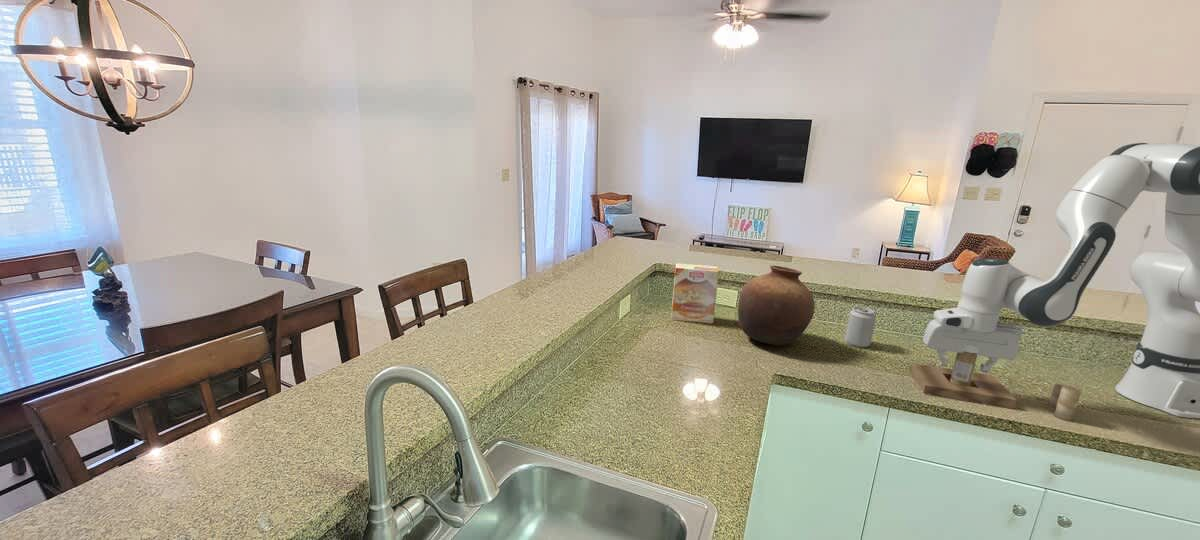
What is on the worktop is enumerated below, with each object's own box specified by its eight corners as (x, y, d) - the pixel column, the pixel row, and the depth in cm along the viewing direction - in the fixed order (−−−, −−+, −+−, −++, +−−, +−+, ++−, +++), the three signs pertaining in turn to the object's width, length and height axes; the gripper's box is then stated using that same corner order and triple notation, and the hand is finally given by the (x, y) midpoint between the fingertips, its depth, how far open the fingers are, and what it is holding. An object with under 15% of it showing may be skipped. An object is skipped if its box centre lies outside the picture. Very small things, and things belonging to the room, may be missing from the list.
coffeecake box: (670, 320, 172) (675, 267, 167) (671, 313, 179) (675, 262, 174) (713, 324, 170) (719, 270, 165) (712, 317, 177) (717, 265, 172)
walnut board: (990, 383, 134) (992, 375, 133) (1014, 409, 121) (1017, 400, 120) (908, 370, 140) (910, 362, 139) (923, 393, 127) (925, 385, 126)
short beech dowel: (1062, 403, 125) (1067, 385, 124) (1069, 409, 122) (1075, 391, 121) (1046, 400, 126) (1051, 383, 125) (1053, 406, 123) (1058, 389, 122)
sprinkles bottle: (971, 390, 129) (984, 344, 126) (963, 394, 127) (975, 347, 124) (952, 383, 133) (964, 338, 130) (944, 387, 131) (955, 341, 127)
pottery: (729, 347, 151) (739, 270, 145) (739, 323, 172) (747, 255, 165) (808, 362, 143) (821, 281, 136) (808, 334, 164) (819, 263, 157)
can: (871, 343, 159) (877, 308, 156) (869, 350, 153) (876, 315, 150) (845, 337, 163) (852, 303, 160) (843, 344, 157) (849, 309, 153)
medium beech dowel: (1069, 415, 119) (1077, 387, 117) (1075, 422, 116) (1083, 394, 114) (1051, 412, 120) (1059, 384, 118) (1057, 419, 117) (1065, 391, 115)
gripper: (1018, 321, 125) (1004, 369, 129) (927, 310, 131) (916, 356, 135) (1030, 329, 119) (1015, 380, 123) (935, 317, 125) (923, 366, 129)
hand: (963, 368), depth 129 cm, fingers open, 8 cm apart
